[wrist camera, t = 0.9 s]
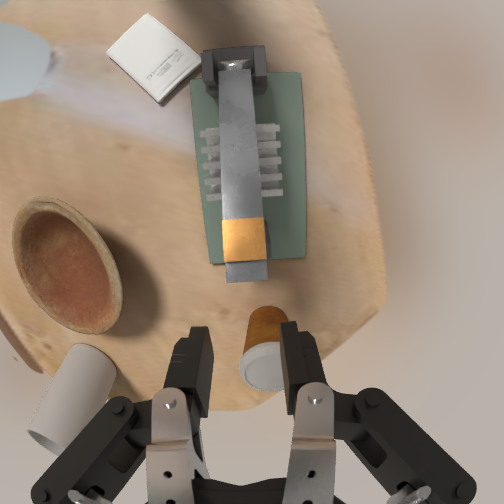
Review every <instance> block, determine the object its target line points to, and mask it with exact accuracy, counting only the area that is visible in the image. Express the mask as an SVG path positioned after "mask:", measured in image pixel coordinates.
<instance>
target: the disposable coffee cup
mask: <svg viewBox="0 0 504 504" xmlns="http://www.w3.org/2000/svg"><path fill="white" fill-rule="evenodd" d="M280 322H288V321H287V318H286V316H285V314H284V312H283V311H282V310H280V309H279V308H277V307H272V306H265V307H261V308H259V309H257V310H255V311H254V312H253V313H252V314H251V316H250V319H249V325H248V330H247V336H246V341H245V346H244V352H243V356H242V358H241V360H240V362H239V366H238V369H239V373H240V375H241V376H242V378H243V380H244V382H245V383H246V384H247V385H248V386H250V387H251V388H254V389H256V390H261V391H268V392H271V391H280V390H284V381H283V373H282V365H281V357H280Z"/></svg>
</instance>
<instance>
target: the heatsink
mask: <svg viewBox="0 0 504 504" xmlns="http://www.w3.org/2000/svg"><path fill="white" fill-rule="evenodd" d="M276 131H280V126H279V125H275V123H269V124H256V134H257V145H258V157H259V169H260V181H261V193H262V197H268V196H283V189H282V187H281V185H280V184H279V182H278V180H282V173H281V171H280V170H279V169H278V166H277V164H282V163H281V157H280V156H279V155H278V154H277V148H281V144H280V141H279V140H276ZM201 137H206V139H207V145H205V146H203V147H201V152H202V154H204V153H208V159H207V160H206V161H205V162H204V163H203V170H206V169H209V170H210V173H209V174H208V175H207V177H206V178H205V179H204V180H205V186H206V185H211V188H210V189H209V191H208V193H207V194H206V197H207V201H215V200H222V190H221V164H220V130H219V127H216V128H207V129H206V130H204V131H200V138H201Z"/></svg>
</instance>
